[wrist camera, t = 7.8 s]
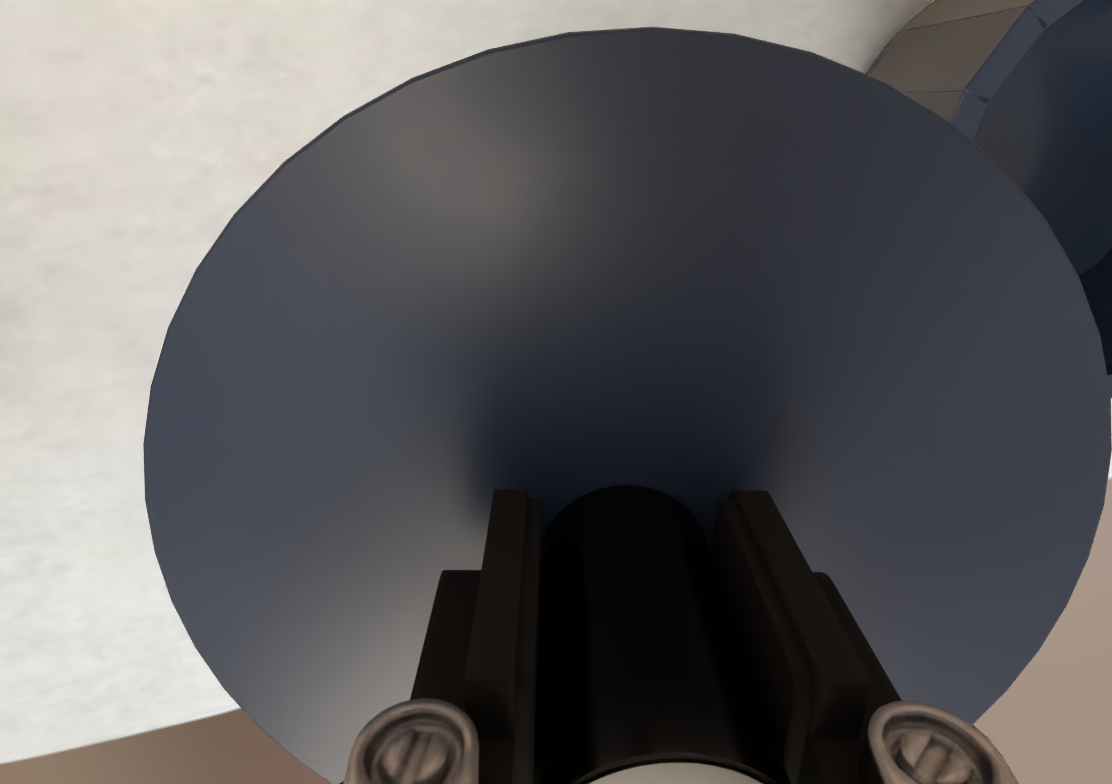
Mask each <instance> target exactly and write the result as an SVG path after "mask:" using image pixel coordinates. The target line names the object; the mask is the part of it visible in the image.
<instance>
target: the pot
mask: <svg viewBox="0 0 1112 784" xmlns="http://www.w3.org/2000/svg"><path fill="white" fill-rule="evenodd" d="M867 75H869V76H872V77H874V78H876V79H879V80H881V81H884V82H886V83H887V84H889V85H891V86H892V87H894V88H896V89H897V90H899V91H900V92H902V93H904V94H905V95H907V96H909V97H910V98H912V99H914V100H915V101H917V102H918V103H920V104H922V105H923V106H925V107H927V108H928V109H930V110H932V111H933V112H935V113H937V114H938V115H940V116H941V117H943V118H945V119H946V120H948V121H949V122H951V123H952V124H953V125H954V126H955V127H956V128H957V129H959V130H960V131H961V132H962V133H963V134H964V135H966V136H967V137H968V138H969V139H970V140H971V141H973V142H974V143H975V144H976V145H977V146H978V147H980V148H981V149H982V150H983V151H984V152H985V153H986V154H988V155H989V156H990V157H991V158H992V159H993V160H995V161H996V162H997V163H998V164H999V165H1000V166H1002V167H1003V168H1004V170H1005V171H1006V172H1007V173H1008V175H1009V176H1010V177H1011V178H1012V179H1013V181H1014V182H1015V183H1016V184H1017V185H1018V187H1019V188H1020V189H1021V190H1022V191H1023V193H1024V194H1025V195H1026V196H1027V197H1028V199H1029V200H1030V201H1031V202H1032V203H1033V205H1034V206H1035V207H1036V208H1037V210H1038V211H1039V212H1040V213H1041V214H1042V216H1043V217H1044V218H1045V219H1046V221H1047V222H1048V224H1049V226H1050V228H1051V229H1052V231H1053V233H1054V235H1055V236H1056V238H1057V240H1058V242H1059V243H1060V245H1061V247H1062V249H1063V250H1064V252H1065V254H1066V255H1067V257H1068V259H1069V261H1070V262H1071V264H1072V266H1073V268H1074V269H1075V271H1076V273H1077V275H1078V276H1079V279H1080V282H1081V284H1082V287H1083V290H1084V293H1085V295H1086V298H1087V301H1088V303H1089V306H1090V309H1091V312H1092V314H1093V317H1094V320H1095V323H1096V325H1097V328H1098V331H1099V334H1100V338H1101V343H1102V349H1103V354H1104V360H1105V365H1106V371H1107V376H1108V382H1109V387H1110V393H1111V398H1112V0H936V1H935V2H933V3H932V4H930V5H929V6H928V7H927V8H925V9H924V10H923V11H922V12H921V13H919V14H918V15H917V16H916V17H915V18H913V19H912V20H911V21H910V22H909V23H908V24H907V25H906V26H905V27H904V28H903V29H902V30H901V31H900V32H899V33H898V34H897V35H896V36H895V37H894V38H893V39H892V40H891V41H890V43H889V44H888V45H887V46H886V48H885V49H884V50H883V51H882V53H881V54H880V55H879V57H878V58H877V59H876V60H875V62H874V63H873V64H872V66H871V68H870V69H869V71H868V72H867Z"/></svg>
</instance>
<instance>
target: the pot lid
mask: <svg viewBox="0 0 1112 784" xmlns="http://www.w3.org/2000/svg"><path fill="white" fill-rule="evenodd" d="M1111 451H1112V446H1111V393H1110V387H1109V382H1108V376H1107V371H1106V365H1105V360H1104V354H1103V349H1102V343H1101V338H1100V334H1099V331H1098V328H1097V325H1096V323H1095V320H1094V317H1093V314H1092V312H1091V309H1090V306H1089V303H1088V301H1087V298H1086V295H1085V293H1084V290H1083V287H1082V284H1081V282H1080V279H1079V276H1078V275H1077V273H1076V271H1075V269H1074V268H1073V266H1072V264H1071V262H1070V261H1069V259H1068V257H1067V255H1066V254H1065V252H1064V250H1063V249H1062V247H1061V245H1060V243H1059V242H1058V240H1057V238H1056V236H1055V235H1054V233H1053V231H1052V229H1051V228H1050V226H1049V224H1048V222H1047V221H1046V219H1045V218H1044V217H1043V216H1042V214H1041V213H1040V212H1039V211H1038V210H1037V208H1036V207H1035V206H1034V205H1033V203H1032V202H1031V201H1030V200H1029V199H1028V197H1027V196H1026V195H1025V194H1024V193H1023V191H1022V190H1021V189H1020V188H1019V187H1018V185H1017V184H1016V183H1015V182H1014V181H1013V179H1012V178H1011V177H1010V176H1009V175H1008V173H1007V172H1006V171H1005V170H1004V168H1003V167H1002V166H1000V165H999V164H998V163H997V162H996V161H995V160H993V159H992V158H991V157H990V156H989V155H988V154H986V153H985V152H984V151H983V150H982V149H981V148H980V147H978V146H977V145H976V144H975V143H974V142H973V141H971V140H970V139H969V138H968V137H967V136H966V135H964V134H963V133H962V132H961V131H960V130H959V129H957V128H956V127H955V126H954V125H953V124H952V123H951V122H949V121H948V120H946V119H945V118H943V117H941V116H940V115H938V114H937V113H935V112H933V111H932V110H930V109H928V108H927V107H925V106H923V105H922V104H920V103H918V102H917V101H915V100H914V99H912V98H910V97H909V96H907V95H905V94H904V93H902V92H900V91H899V90H897V89H896V88H894V87H892V86H891V85H889V84H887V83H886V82H884V81H881V80H879V79H876V78H874V77H872V76H869V75H867V74H864V73H862V72H859V71H857V70H854V69H852V68H849V67H847V66H845V65H842V64H840V63H837V62H835V61H832V60H830V59H827V58H825V57H823V56H820V55H818V54H815V53H813V52H809V51H805V50H800V49H796V48H792V47H788V46H784V45H779V44H775V43H771V42H767V41H763V40H758V39H754V38H750V37H746V36H742V35H737V34H732V33H720V32H708V31H696V30H684V29H672V28H660V27H641V28H626V29H611V30H595V31H580V32H568V33H563V34H558V35H554V36H549V37H544V38H540V39H535V40H530V41H526V42H521V43H516V44H512V45H507V46H502V47H498V48H493V49H488V50H486V51H483V52H480V53H478V54H475V55H472V56H470V57H467V58H464V59H462V60H459V61H456V62H454V63H451V64H448V65H446V66H443V67H440V68H438V69H435V70H432V71H430V72H427V73H424V74H422V75H419V76H416V77H413V78H411V79H409V80H408V81H406V82H404V83H402V84H400V85H399V86H397V87H395V88H393V89H391V90H390V91H388V92H386V93H384V94H382V95H381V96H379V97H377V98H375V99H373V100H372V101H370V102H368V103H366V104H364V105H363V106H361V107H359V108H357V109H355V110H354V111H352V112H350V113H348V114H346V115H344V116H343V117H342V118H340V119H339V120H338V121H336V122H335V123H334V124H333V125H331V126H330V127H329V128H327V129H326V130H325V131H323V132H322V133H321V134H320V135H318V136H317V137H316V138H314V139H313V140H312V141H310V142H309V143H308V144H307V145H305V146H304V147H303V148H301V149H300V150H299V151H297V152H296V153H295V154H294V155H292V156H291V157H290V158H288V159H287V160H286V161H285V162H283V163H282V165H281V166H280V167H279V168H278V169H277V170H276V171H275V172H274V173H273V174H272V175H271V176H270V177H269V178H268V179H267V180H266V181H265V182H264V183H263V184H262V186H261V187H260V188H259V189H258V190H257V191H256V192H255V193H254V194H253V195H252V196H251V197H250V198H249V199H248V200H247V201H246V202H245V203H244V204H243V205H242V206H241V208H240V209H239V210H238V211H237V212H236V213H235V214H234V215H233V217H232V218H231V220H230V221H229V223H228V224H227V225H226V227H225V228H224V230H223V231H222V233H221V234H220V236H219V237H218V238H217V240H216V241H215V243H214V244H213V246H212V247H211V249H210V250H209V251H208V253H207V254H206V256H205V257H204V259H203V260H202V262H201V263H200V264H199V266H198V267H197V269H196V271H195V273H194V275H193V277H192V279H191V281H190V283H189V285H188V287H187V289H186V292H185V294H184V296H183V298H182V300H181V302H180V304H179V306H178V308H177V310H176V312H175V314H174V317H173V319H172V321H171V323H170V325H169V327H168V330H167V334H166V337H165V340H164V344H163V347H162V351H161V354H160V357H159V361H158V364H157V368H156V371H155V374H154V378H153V381H152V385H151V390H150V398H149V405H148V413H147V421H146V429H145V437H144V476H145V501H146V507H147V512H148V518H149V523H150V528H151V534H152V539H153V544H154V550H155V554H156V557H157V560H158V563H159V566H160V568H161V571H162V574H163V577H164V580H165V583H166V586H167V589H168V592H169V595H170V597H171V600H172V603H173V605H174V607H175V609H176V611H177V613H178V614H179V616H180V618H181V620H182V622H183V624H184V626H185V628H186V630H187V632H188V634H189V636H190V638H191V640H192V642H193V644H194V646H195V648H196V649H197V650H198V652H199V653H200V655H201V656H202V658H203V659H204V661H205V662H206V663H207V665H208V666H209V668H210V669H211V671H212V672H213V674H214V675H215V676H216V678H217V679H218V681H219V682H220V684H221V685H222V687H223V688H224V689H225V690H226V691H227V692H228V694H229V695H230V696H231V697H232V698H233V699H234V700H235V701H236V703H237V704H238V705H239V706H240V707H241V708H242V709H243V710H244V711H245V713H246V714H247V715H248V716H249V717H250V718H251V719H252V720H253V722H254V723H255V724H256V725H257V726H259V727H260V728H261V729H262V730H263V731H264V732H265V733H267V734H268V735H269V736H270V737H271V738H272V739H273V740H274V741H276V742H277V743H278V744H279V745H280V746H281V747H282V748H283V749H284V750H286V751H287V752H288V753H289V754H290V755H291V756H293V757H294V758H295V759H297V760H298V761H299V762H301V763H303V764H304V765H305V766H307V767H308V768H309V769H311V770H312V771H314V772H315V773H317V774H318V775H319V776H321V777H322V778H324V779H325V780H327V781H328V782H330V783H331V784H340V783H341V782H343V781H344V778H345V773H346V769H347V764H348V760H349V755H350V752H351V749H352V747H353V744H354V742H355V739H356V737H357V735H358V734H359V733H360V732H361V730H362V729H363V728H364V727H365V725H366V724H367V723H368V721H370V720H371V719H372V718H374V717H375V716H376V715H378V714H379V713H380V712H382V711H383V710H384V709H387V708H389V707H391V706H393V705H396V704H398V703H400V702H403V701H408V700H410V697H411V693H412V689H413V685H414V681H415V677H416V673H417V669H418V665H419V660H420V656H421V652H422V648H423V644H424V640H425V636H426V632H427V628H428V623H429V619H430V615H431V611H432V607H433V603H434V599H435V595H436V591H437V587H438V582H439V578H440V575H441V572H442V571H443V570H481V568H482V562H483V556H484V549H485V543H486V537H487V531H488V524H489V518H490V512H491V505H492V499H493V493H494V489H528V498H541V568H540V600H539V633H538V665H537V697H536V729H535V762H534V773H533V784H791V781H790V778H789V776H788V773H787V770H786V767H785V764H784V761H783V758H782V755H781V753H780V750H779V747H778V744H777V741H776V738H775V735H774V733H773V730H772V727H771V724H770V721H769V718H768V715H767V712H766V710H765V707H764V704H763V701H762V698H761V695H760V692H759V689H758V687H757V684H756V681H755V678H754V675H753V672H752V669H751V666H750V664H749V661H748V658H747V655H746V652H745V649H744V646H743V643H742V641H741V638H740V635H739V632H738V629H737V626H736V623H735V620H734V618H733V615H732V612H731V609H730V606H729V603H728V600H727V597H726V595H725V592H724V589H723V586H722V583H721V580H720V577H719V574H718V572H717V569H716V566H715V563H714V560H713V557H712V554H711V550H712V542H713V533H714V524H715V516H716V507H717V503H718V500H719V499H728V497H729V494H730V492H731V491H732V490H746V491H768V493H769V494H770V496H771V497H772V499H773V501H774V503H775V505H776V507H777V508H778V510H779V512H780V514H781V516H782V518H783V519H784V521H785V523H786V525H787V527H788V528H789V530H790V532H791V534H792V536H793V538H794V539H795V541H796V543H797V545H798V547H799V549H800V550H801V552H802V554H803V556H804V558H805V560H806V561H807V563H808V565H809V567H810V569H811V570H812V572H823V573H825V574H827V575H828V576H829V577H830V578H831V580H832V581H833V583H834V584H835V586H836V588H837V590H838V591H839V593H840V595H841V596H842V598H843V600H844V602H845V603H846V605H847V607H848V609H849V610H850V612H851V614H852V615H853V617H854V619H855V621H856V622H857V624H858V626H859V627H860V629H861V631H862V633H863V634H864V636H865V638H866V640H867V641H868V643H869V645H870V646H871V648H872V650H873V652H874V653H875V655H876V657H877V658H878V660H879V662H880V664H881V665H882V667H883V669H884V671H885V672H886V674H887V676H888V677H889V679H890V681H891V683H892V684H893V686H894V688H895V690H896V691H897V693H898V695H899V696H900V698H901V700H902V701H917V702H922V703H928V704H932V705H935V706H937V707H940V708H943V709H945V710H948V711H950V712H953V713H954V714H956V715H958V716H959V717H961V718H963V719H964V720H966V721H968V722H969V723H971V724H972V725H973V724H974V723H975V722H976V721H977V719H979V718H980V717H981V716H982V715H983V714H984V713H985V712H986V711H987V710H988V709H989V708H990V707H991V706H992V705H993V704H994V703H995V702H996V701H997V700H998V699H999V698H1000V697H1001V696H1002V695H1003V694H1004V693H1005V692H1006V691H1007V689H1008V688H1009V687H1010V686H1011V685H1012V683H1013V682H1014V681H1015V680H1016V678H1017V677H1018V676H1019V674H1020V673H1021V672H1022V671H1023V670H1024V668H1025V667H1026V666H1027V665H1028V663H1029V662H1030V661H1031V660H1032V658H1033V657H1034V656H1035V655H1036V653H1037V652H1038V651H1039V649H1040V648H1041V646H1042V645H1043V643H1044V641H1045V640H1046V638H1047V636H1048V635H1049V633H1050V632H1051V630H1052V628H1053V627H1054V625H1055V623H1056V622H1057V620H1058V619H1059V617H1060V615H1061V614H1062V612H1063V611H1064V608H1065V607H1066V606H1067V604H1068V601H1069V599H1070V597H1071V595H1072V592H1073V590H1074V588H1075V586H1076V584H1077V581H1078V579H1079V577H1080V575H1081V573H1082V570H1083V568H1084V566H1085V564H1086V562H1087V559H1088V557H1089V554H1090V551H1091V547H1092V544H1093V540H1094V537H1095V534H1096V530H1097V526H1098V523H1099V520H1100V516H1101V513H1102V510H1103V506H1104V501H1105V494H1106V486H1107V479H1108V472H1109V465H1110V458H1111Z"/></svg>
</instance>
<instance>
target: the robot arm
mask: <svg viewBox="0 0 1112 784" xmlns="http://www.w3.org/2000/svg"><path fill="white" fill-rule="evenodd" d="M711 554H712V557H713V560H714V563H715V566H716V569H717V572H718V574H719V577H720V580H721V583H722V586H723V589H724V592H725V595H726V597H727V600H728V603H729V606H730V609H731V612H732V615H733V618H734V620H735V623H736V626H737V629H738V632H739V635H740V638H741V641H742V643H743V646H744V649H745V652H746V655H747V658H748V661H749V664H750V666H751V669H752V672H753V675H754V678H755V681H756V684H757V687H758V689H759V692H760V695H761V698H762V701H763V704H764V707H765V710H766V712H767V715H768V718H769V721H770V724H771V727H772V730H773V733H774V735H775V738H776V741H777V744H778V747H779V750H780V753H781V755H782V758H783V761H784V764H785V767H786V770H787V773H788V776H789V778H790V781H791V784H1019V783H1018V782H1017V780H1016V778H1015V776H1014V775H1013V773H1012V771H1011V770H1010V768H1009V766H1008V765H1007V763H1006V761H1005V760H1004V758H1003V756H1002V755H1001V754H1000V752H999V751H998V750H997V748H996V747H995V746H994V744H993V743H992V742H991V741H990V739H989V738H987V737H986V736H985V735H984V734H983V733H981V731H979V730H978V729H977V728H976V727H975V726H974V725H972V724H971V723H969V722H968V721H966V720H964V719H963V718H961V717H959V716H958V715H956V714H954V713H953V712H950V711H948V710H945V709H943V708H940V707H937V706H935V705H932V704H928V703H922V702H917V701H902V700H901V698H900V696H899V695H898V693H897V691H896V690H895V688H894V686H893V684H892V683H891V681H890V679H889V677H888V676H887V674H886V672H885V671H884V669H883V667H882V665H881V664H880V662H879V660H878V658H877V657H876V655H875V653H874V652H873V650H872V648H871V646H870V645H869V643H868V641H867V640H866V638H865V636H864V634H863V633H862V631H861V629H860V627H859V626H858V624H857V622H856V621H855V619H854V617H853V615H852V614H851V612H850V610H849V609H848V607H847V605H846V603H845V602H844V600H843V598H842V596H841V595H840V593H839V591H838V590H837V588H836V586H835V584H834V583H833V581H832V580H831V578H830V577H829V576H828V575H827V574H825V573H823V572H812V570H811V569H810V567H809V565H808V563H807V561H806V560H805V558H804V556H803V554H802V552H801V550H800V549H799V547H798V545H797V543H796V541H795V539H794V538H793V536H792V534H791V532H790V530H789V528H788V527H787V525H786V523H785V521H784V519H783V518H782V516H781V514H780V512H779V510H778V508H777V507H776V505H775V503H774V501H773V499H772V497H771V496H770V494H769V493H768V491H746V490H732V491H731V492H730V494H729V497H728V499H719V500H718V503H717V507H716V516H715V524H714V533H713V542H712V550H711ZM540 568H541V498H528V489H494V493H493V499H492V505H491V512H490V518H489V524H488V531H487V537H486V543H485V549H484V556H483V562H482V568H481V570H443V571H442V572H441V575H440V578H439V582H438V587H437V591H436V595H435V599H434V603H433V607H432V611H431V615H430V619H429V623H428V628H427V632H426V636H425V640H424V644H423V648H422V652H421V656H420V660H419V665H418V669H417V673H416V677H415V681H414V685H413V689H412V693H411V697H410V700H408V701H403V702H400V703H398V704H396V705H393V706H391V707H389V708H387V709H384V710H383V711H382V712H380V713H379V714H378V715H376V716H375V717H374V718H372V719H371V720H370V721H368V723H367V724H366V725H365V727H364V728H363V729H362V730H361V732H360V733H359V734H358V735H357V737H356V739H355V742H354V744H353V747H352V749H351V752H350V755H349V760H348V764H347V769H346V773H345V778H344V781H343V782H341V783H340V784H533V773H534V762H535V729H536V697H537V665H538V633H539V600H540Z"/></svg>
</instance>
